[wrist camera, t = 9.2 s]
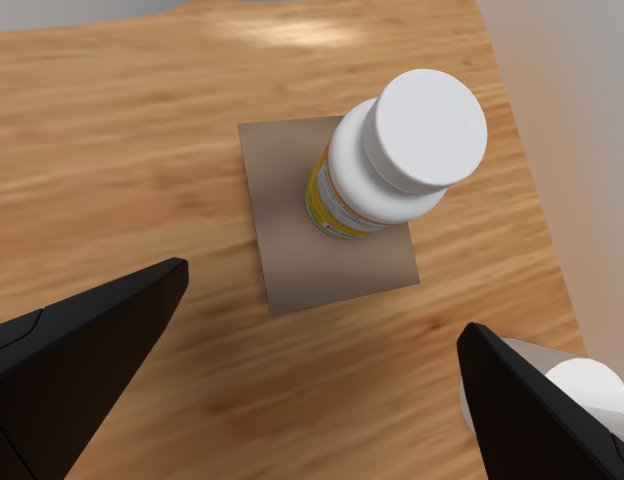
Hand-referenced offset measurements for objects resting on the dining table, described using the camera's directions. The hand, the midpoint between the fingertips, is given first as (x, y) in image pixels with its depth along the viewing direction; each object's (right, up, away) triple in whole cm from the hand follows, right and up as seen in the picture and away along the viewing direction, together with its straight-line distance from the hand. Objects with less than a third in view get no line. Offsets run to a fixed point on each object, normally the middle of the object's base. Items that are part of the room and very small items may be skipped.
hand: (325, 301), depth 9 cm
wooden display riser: (0, +4, +14) cm, 14 cm away
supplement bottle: (+2, +5, +10) cm, 11 cm away
